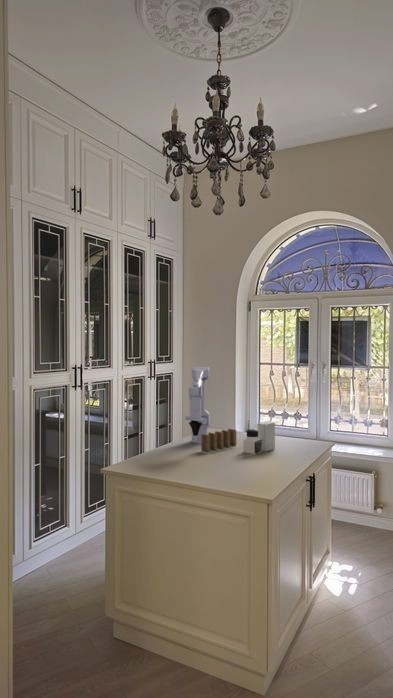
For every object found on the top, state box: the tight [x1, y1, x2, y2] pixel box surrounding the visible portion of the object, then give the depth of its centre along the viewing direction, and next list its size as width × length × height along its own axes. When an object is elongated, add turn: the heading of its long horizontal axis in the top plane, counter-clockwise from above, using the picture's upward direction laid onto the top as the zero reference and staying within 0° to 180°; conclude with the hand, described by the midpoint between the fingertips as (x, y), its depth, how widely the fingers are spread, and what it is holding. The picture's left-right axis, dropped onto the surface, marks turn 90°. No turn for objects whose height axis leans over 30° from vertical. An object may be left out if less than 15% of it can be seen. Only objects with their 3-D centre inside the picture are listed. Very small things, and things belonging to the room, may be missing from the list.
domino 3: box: [221, 429, 231, 449], centre depth 254 cm, size 5×2×9 cm, turn 41°
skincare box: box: [257, 420, 276, 452], centre depth 248 cm, size 8×6×15 cm
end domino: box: [200, 434, 210, 453], centre depth 244 cm, size 5×2×9 cm, turn 41°
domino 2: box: [214, 430, 224, 449], centre depth 250 cm, size 5×2×9 cm, turn 41°
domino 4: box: [227, 428, 237, 446], centre depth 257 cm, size 5×2×9 cm, turn 41°
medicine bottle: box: [242, 428, 262, 456], centre depth 243 cm, size 7×7×12 cm
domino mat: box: [197, 444, 241, 455], centre depth 250 cm, size 8×26×1 cm, turn 131°
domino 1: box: [208, 431, 218, 452], centre depth 247 cm, size 5×2×9 cm, turn 41°
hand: (195, 435), depth 239 cm, fingers closed
